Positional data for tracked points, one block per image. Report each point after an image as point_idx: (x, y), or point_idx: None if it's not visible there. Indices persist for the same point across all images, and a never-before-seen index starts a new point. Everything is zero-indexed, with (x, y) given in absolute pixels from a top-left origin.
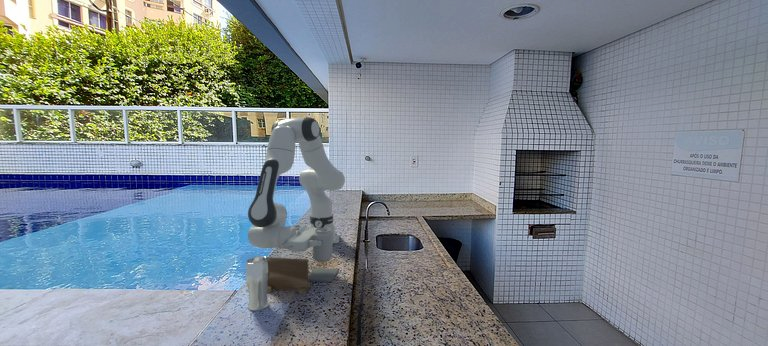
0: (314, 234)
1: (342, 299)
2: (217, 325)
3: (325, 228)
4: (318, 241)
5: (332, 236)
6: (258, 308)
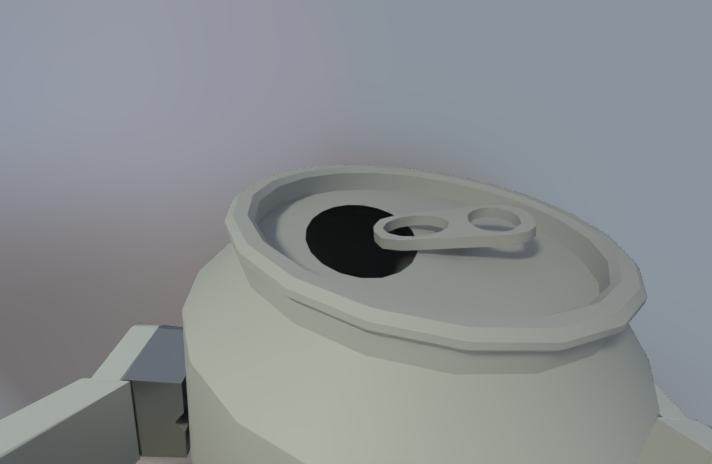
0: (643, 415)
1: None
2: None
3: (265, 204)
4: (659, 395)
5: (355, 259)
6: None
